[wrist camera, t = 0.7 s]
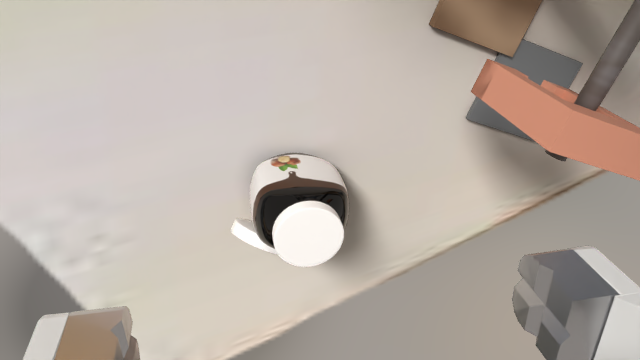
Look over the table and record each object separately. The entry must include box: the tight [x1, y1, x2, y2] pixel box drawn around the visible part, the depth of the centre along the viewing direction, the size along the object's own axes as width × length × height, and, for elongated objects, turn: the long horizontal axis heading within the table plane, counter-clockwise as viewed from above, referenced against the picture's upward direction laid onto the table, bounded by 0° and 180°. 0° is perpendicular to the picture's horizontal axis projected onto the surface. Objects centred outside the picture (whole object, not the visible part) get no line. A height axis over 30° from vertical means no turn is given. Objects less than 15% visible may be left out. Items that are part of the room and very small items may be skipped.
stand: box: [429, 0, 640, 161], centre depth 45 cm, size 17×10×22 cm, turn 159°
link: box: [471, 59, 640, 181], centre depth 41 cm, size 3×9×12 cm, turn 69°
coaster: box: [466, 39, 583, 142], centre depth 60 cm, size 10×10×1 cm
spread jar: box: [231, 153, 349, 267], centre depth 56 cm, size 12×11×12 cm
